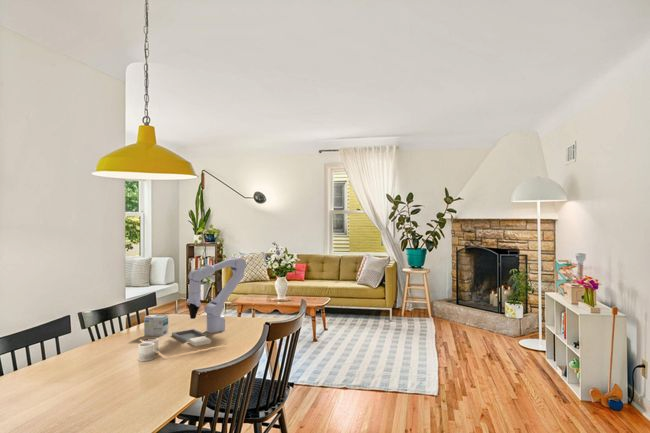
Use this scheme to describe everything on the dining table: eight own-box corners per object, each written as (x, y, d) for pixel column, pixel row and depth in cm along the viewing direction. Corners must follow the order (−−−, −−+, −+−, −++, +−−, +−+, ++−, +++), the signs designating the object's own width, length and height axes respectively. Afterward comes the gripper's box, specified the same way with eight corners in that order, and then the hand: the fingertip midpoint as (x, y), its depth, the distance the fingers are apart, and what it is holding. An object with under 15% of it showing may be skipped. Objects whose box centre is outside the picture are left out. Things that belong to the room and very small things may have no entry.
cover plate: (204, 340, 221) (204, 336, 221) (210, 343, 215) (210, 339, 215) (188, 343, 216) (188, 338, 216) (195, 347, 210) (195, 342, 210)
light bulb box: (168, 334, 236) (168, 314, 236) (163, 337, 229) (163, 317, 229) (150, 333, 237) (149, 314, 237) (143, 337, 230) (143, 316, 230)
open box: (193, 333, 237) (193, 328, 237) (207, 340, 224) (207, 335, 224) (171, 337, 229) (171, 332, 229) (184, 344, 216) (184, 339, 216)
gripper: (181, 291, 235) (180, 316, 234) (192, 294, 224) (190, 321, 223) (194, 290, 239) (193, 315, 239) (205, 294, 228) (204, 320, 227)
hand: (192, 318), depth 231 cm, fingers closed
